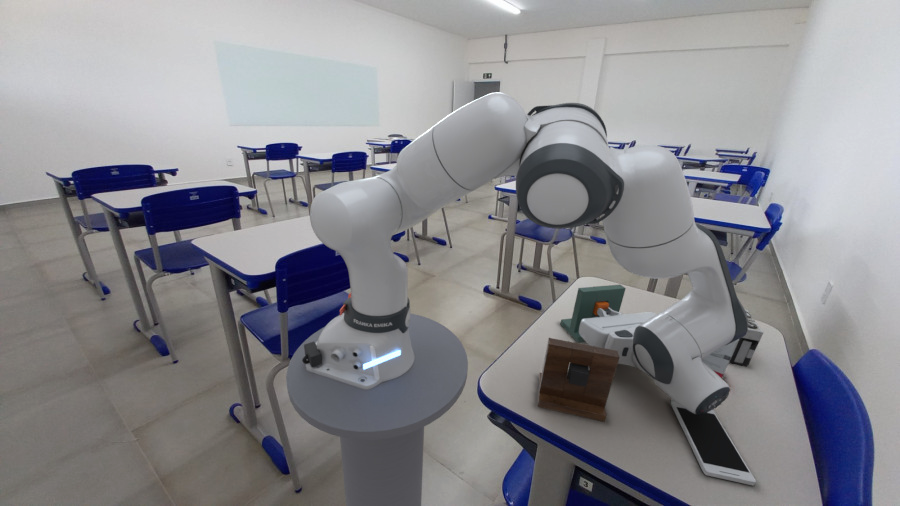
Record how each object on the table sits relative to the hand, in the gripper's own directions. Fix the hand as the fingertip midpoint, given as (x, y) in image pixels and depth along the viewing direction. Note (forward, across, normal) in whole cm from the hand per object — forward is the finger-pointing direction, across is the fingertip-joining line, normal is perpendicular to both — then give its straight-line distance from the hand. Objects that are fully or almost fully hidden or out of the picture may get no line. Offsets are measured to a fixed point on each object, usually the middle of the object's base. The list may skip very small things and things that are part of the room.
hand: (602, 310), depth 86 cm
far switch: (+1, 0, +1) cm, 2 cm away
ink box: (-15, -16, +8) cm, 23 cm away
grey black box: (-9, -30, +8) cm, 32 cm away
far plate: (+3, 0, +8) cm, 8 cm away
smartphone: (-30, -1, +8) cm, 31 cm away
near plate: (-17, +18, +8) cm, 26 cm away
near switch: (-19, +19, +1) cm, 27 cm away
